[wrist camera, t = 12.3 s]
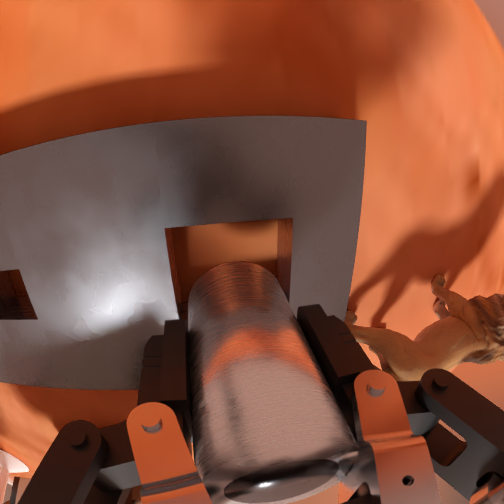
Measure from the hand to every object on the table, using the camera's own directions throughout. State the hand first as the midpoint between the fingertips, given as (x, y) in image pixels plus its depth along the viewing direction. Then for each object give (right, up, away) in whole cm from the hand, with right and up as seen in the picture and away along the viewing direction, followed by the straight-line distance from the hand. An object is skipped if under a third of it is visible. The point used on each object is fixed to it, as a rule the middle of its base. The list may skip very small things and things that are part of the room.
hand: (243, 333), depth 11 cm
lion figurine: (+12, -1, +10) cm, 15 cm away
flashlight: (0, +1, +2) cm, 2 cm away
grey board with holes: (-7, +2, +4) cm, 8 cm away
